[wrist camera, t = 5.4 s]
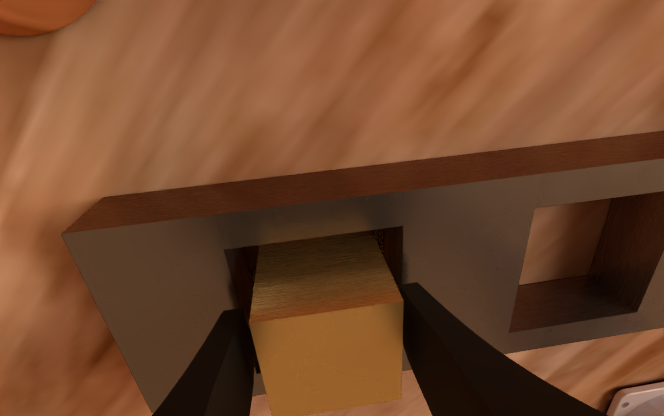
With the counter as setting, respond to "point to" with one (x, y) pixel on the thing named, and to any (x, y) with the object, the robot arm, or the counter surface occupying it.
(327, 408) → the golden brown block
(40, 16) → the beer glass
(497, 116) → the counter surface
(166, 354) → the grey slotted board
